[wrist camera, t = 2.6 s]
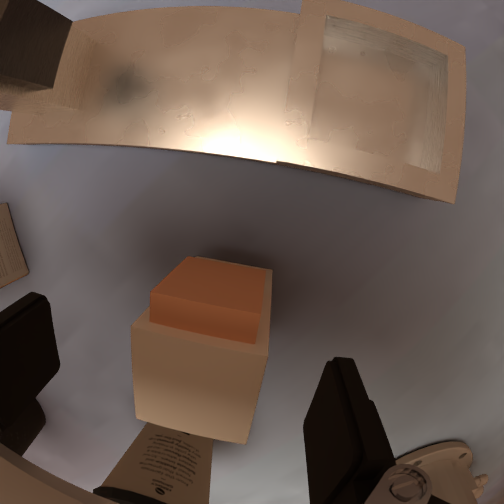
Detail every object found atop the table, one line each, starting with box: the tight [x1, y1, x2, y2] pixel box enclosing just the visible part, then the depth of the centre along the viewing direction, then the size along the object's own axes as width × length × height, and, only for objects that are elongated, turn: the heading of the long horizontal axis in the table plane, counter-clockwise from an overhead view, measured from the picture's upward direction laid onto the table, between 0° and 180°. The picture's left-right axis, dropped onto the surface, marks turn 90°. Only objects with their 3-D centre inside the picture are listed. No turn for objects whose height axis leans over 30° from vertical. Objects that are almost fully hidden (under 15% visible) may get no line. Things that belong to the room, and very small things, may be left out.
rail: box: [0, 0, 466, 204], centre depth 9 cm, size 24×8×10 cm, turn 81°
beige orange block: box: [131, 256, 273, 445], centre depth 12 cm, size 5×4×8 cm
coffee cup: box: [93, 422, 213, 504], centre depth 14 cm, size 7×7×10 cm
